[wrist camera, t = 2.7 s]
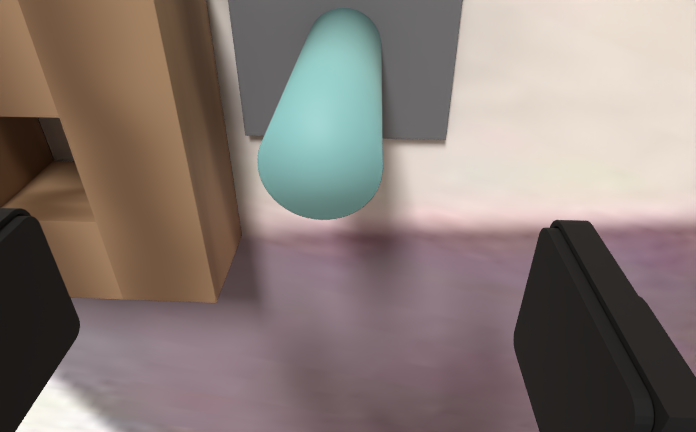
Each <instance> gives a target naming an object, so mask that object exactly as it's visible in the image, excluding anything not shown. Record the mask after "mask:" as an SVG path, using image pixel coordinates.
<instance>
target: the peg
mask: <svg viewBox="0 0 696 432" xmlns="http://www.w3.org/2000/svg"><path fill="white" fill-rule="evenodd" d="M258 170H259V175H260V178H261V181H262V183H263V185H264V187H265V188H266V190H267V191H268V193H269V194H270V195H271V196H272V198H273V199H274V200H275V201H276V202H277V203H279V204H280V205H281V206H283V207H284V208H285V209H287V210H289V211H291V212H292V213H295V214H297V215H300V216H303V217H306V218H311V219H319V220H330V219H337V218H341V217H345V216H347V215H350V214H352V213H354V212H356V211H358V210H359V209H361V208H362V207H364V206H365V205H366V204H367V203H368V202H369V201H370V200H371V199H372V197H373V196H374V195H375V193H376V191H377V190H378V187H379V185H380V182H381V178H382V172H383V151H382V54H381V38H380V34H379V32H378V29H377V27H376V26H375V24H374V23H373V22H372V20H371V19H370V18H369V17H367V16H366V15H365V14H363V13H361V12H360V11H357V10H354V9H350V8H337V9H333V10H330V11H328V12H326V13H324V14H323V15H321V16H320V17H319V18H318V19H317V20H316V21H315V23H314V24H313V26H312V27H311V30H310V32H309V34H308V36H307V39H306V41H305V43H304V46H303V48H302V50H301V53H300V55H299V57H298V59H297V62H296V64H295V66H294V69H293V71H292V73H291V76H290V78H289V80H288V83H287V85H286V87H285V89H284V92H283V94H282V96H281V99H280V101H279V103H278V106H277V108H276V110H275V112H274V115H273V117H272V119H271V122H270V124H269V126H268V129H267V131H266V133H265V136H264V138H263V140H262V142H261V145H260V148H259V152H258Z"/></svg>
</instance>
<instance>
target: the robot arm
mask: <svg viewBox="0 0 696 432" xmlns="http://www.w3.org/2000/svg"><path fill="white" fill-rule="evenodd" d="M79 328H80V321H79V318H78V315H77V313H76V310H75V308H74V306H73V303H72V301H71V298H70V296H69V293H68V291H67V288H66V286H65V284H64V281H63V279H62V276H61V274H60V271H59V269H58V266H57V264H56V261H55V259H54V257H53V254H52V252H51V249H50V247H49V244H48V242H47V239H46V237H45V235H44V232H43V230H42V227H41V225H40V223H39V221H38V220H37V219H36V218H35V217H32V216H31V215H30V213H29V212H28V211H26V210H25V209H22V208H0V432H15V431H16V430H17V428H18V426H19V425H20V423H21V422H22V420H23V419H24V417H25V416H26V414H27V413H28V411H29V410H30V408H31V407H32V405H33V404H34V402H35V401H36V399H37V398H38V396H39V394H40V393H41V391H42V390H43V388H44V387H45V385H46V384H47V382H48V381H49V379H50V378H51V376H52V375H53V373H54V372H55V370H56V369H57V367H58V365H59V364H60V362H61V361H62V359H63V358H64V356H65V355H66V353H67V352H68V350H69V349H70V347H71V346H72V344H73V343H74V341H75V340H76V338H77V336H78V333H79ZM514 349H515V353H516V356H517V360H518V363H519V366H520V370H521V373H522V376H523V379H524V383H525V386H526V389H527V392H528V396H529V399H530V402H531V405H532V409H533V412H534V415H535V418H536V422H537V425H538V428H539V431H540V432H696V377H695V376H694V374H693V373H692V371H691V369H690V368H689V366H688V365H687V363H686V362H685V360H684V359H683V357H682V356H681V354H680V353H679V351H678V350H677V348H676V347H675V345H674V344H673V342H672V341H671V339H670V338H669V336H668V335H667V333H666V332H665V330H664V329H663V327H662V325H661V324H660V322H659V321H658V319H657V318H656V316H655V315H654V313H653V312H652V310H651V309H650V307H649V306H648V304H647V303H646V302H645V301H644V300H643V299H642V297H640V296H638V294H637V293H636V291H635V290H634V288H633V287H632V285H631V284H630V282H629V281H628V279H627V278H626V276H625V274H624V273H623V271H622V270H621V268H620V267H619V265H618V264H617V262H616V261H615V259H614V258H613V256H612V254H611V253H610V251H609V250H608V248H607V247H606V245H605V244H604V242H603V241H602V239H601V238H600V236H599V235H598V233H597V231H596V230H595V228H594V227H593V225H592V224H591V223H590V222H589V221H574V220H555V221H553V223H552V224H551V226H550V228H543V229H542V230H541V231H540V234H539V238H538V241H537V245H536V249H535V253H534V257H533V261H532V265H531V269H530V273H529V277H528V280H527V284H526V288H525V292H524V296H523V300H522V304H521V308H520V312H519V315H518V319H517V323H516V327H515V331H514Z"/></svg>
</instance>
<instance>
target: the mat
mask: <svg viewBox="0 0 696 432" xmlns="http://www.w3.org/2000/svg"><path fill="white" fill-rule="evenodd" d="M228 3H229V11H230V19H231V27H232V34H233V42H234V50H235V58H236V66H237V73H238V81H239V89H240V97H241V104H242V112H243V120H244V128H245V135H248V136H265V133H266V131H267V129H268V126H269V124H270V122H271V119H272V117H273V115H274V112H275V110H276V108H277V106H278V103H279V101H280V99H281V96H282V94H283V92H284V89H285V87H286V85H287V83H288V80H289V78H290V76H291V73H292V71H293V69H294V66H295V64H296V62H297V59H298V57H299V55H300V53H301V50H302V48H303V46H304V43H305V41H306V39H307V36H308V34H309V32H310V30H311V27H312V26H313V24H314V23H315V21H316V20H317V19H318V18H319V17H320V16H321V15H323V14H324V13H326V12H328V11H330V10H333V9H337V8H350V9H354V10H357V11H360V12H361V13H363V14H365V15H366V16H367V17H369V18H370V19H371V20H372V22H373V23H374V24H375V26H376V27H377V29H378V32H379V34H380V38H381V54H382V138H388V139H434V140H446V133H447V125H448V116H449V108H450V100H451V91H452V83H453V75H454V66H455V58H456V50H457V41H458V33H459V25H460V16H461V8H462V0H228Z"/></svg>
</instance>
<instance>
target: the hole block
mask: <svg viewBox="0 0 696 432" xmlns="http://www.w3.org/2000/svg"><path fill="white" fill-rule="evenodd" d="M37 117H51V118H60V121H61V124H62V127H63V130H64V133H65V135H66V138H67V141H68V144H69V147H70V150H71V152H72V155H73V158H74V161H57V160H53V157H52V155H51V152H50V149H49V147H48V144H47V141H46V139H45V136H44V134H43V131H42V128H41V126H40V123H39V120H38V118H37ZM0 208H22V209H25V210H26V211H28V212H29V213H30V215H31V216H32V217H35V218H36V219H37V220H38V221H39V223H40V225H41V227H42V230H43V232H44V235H45V237H46V239H47V242H48V244H49V247H50V249H51V252H52V254H53V257H54V259H55V261H56V264H57V266H58V269H59V271H60V274H61V276H62V279H63V281H64V284H65V286H66V288H67V291H68V293H69V296H70V297H72V298H99V299H127V300H154V301H182V302H209V303H217V300H218V297H219V295H220V292H221V289H222V287H223V284H224V281H225V279H226V276H227V274H228V271H229V268H230V266H231V263H232V260H233V258H234V255H235V252H236V250H237V247H238V244H239V242H240V239H241V236H242V234H241V227H240V220H239V214H238V207H237V201H236V194H235V188H234V181H233V174H232V168H231V161H230V155H229V148H228V142H227V135H226V128H225V122H224V115H223V109H222V102H221V96H220V89H219V83H218V76H217V69H216V63H215V56H214V50H213V43H212V37H211V30H210V23H209V17H208V10H207V4H206V0H0Z"/></svg>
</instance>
